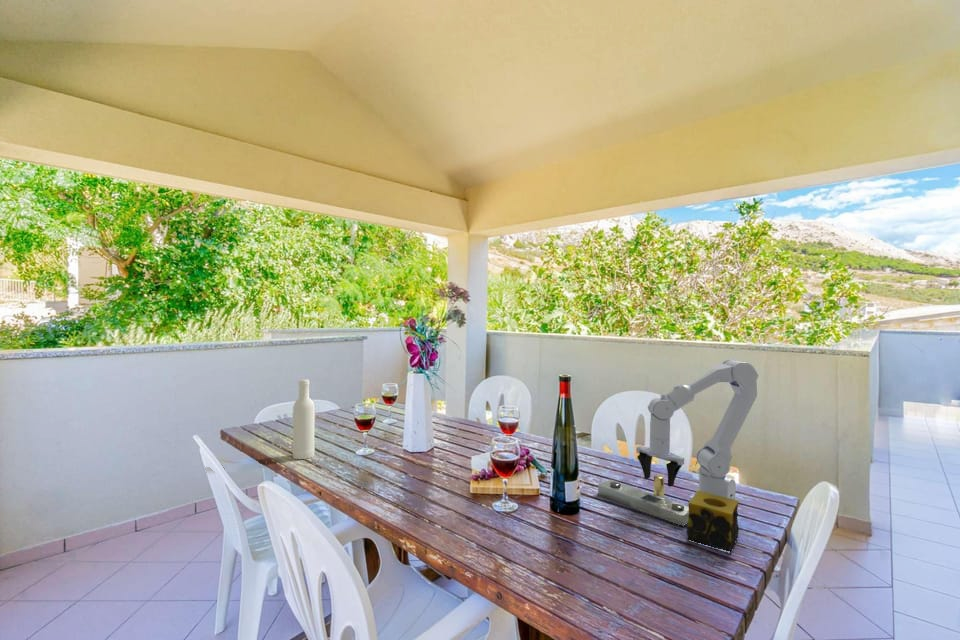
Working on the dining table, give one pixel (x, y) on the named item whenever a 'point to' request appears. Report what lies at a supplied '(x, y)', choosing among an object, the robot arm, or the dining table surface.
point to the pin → (659, 485)
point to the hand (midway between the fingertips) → (658, 481)
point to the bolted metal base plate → (645, 501)
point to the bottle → (303, 423)
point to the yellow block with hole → (713, 520)
